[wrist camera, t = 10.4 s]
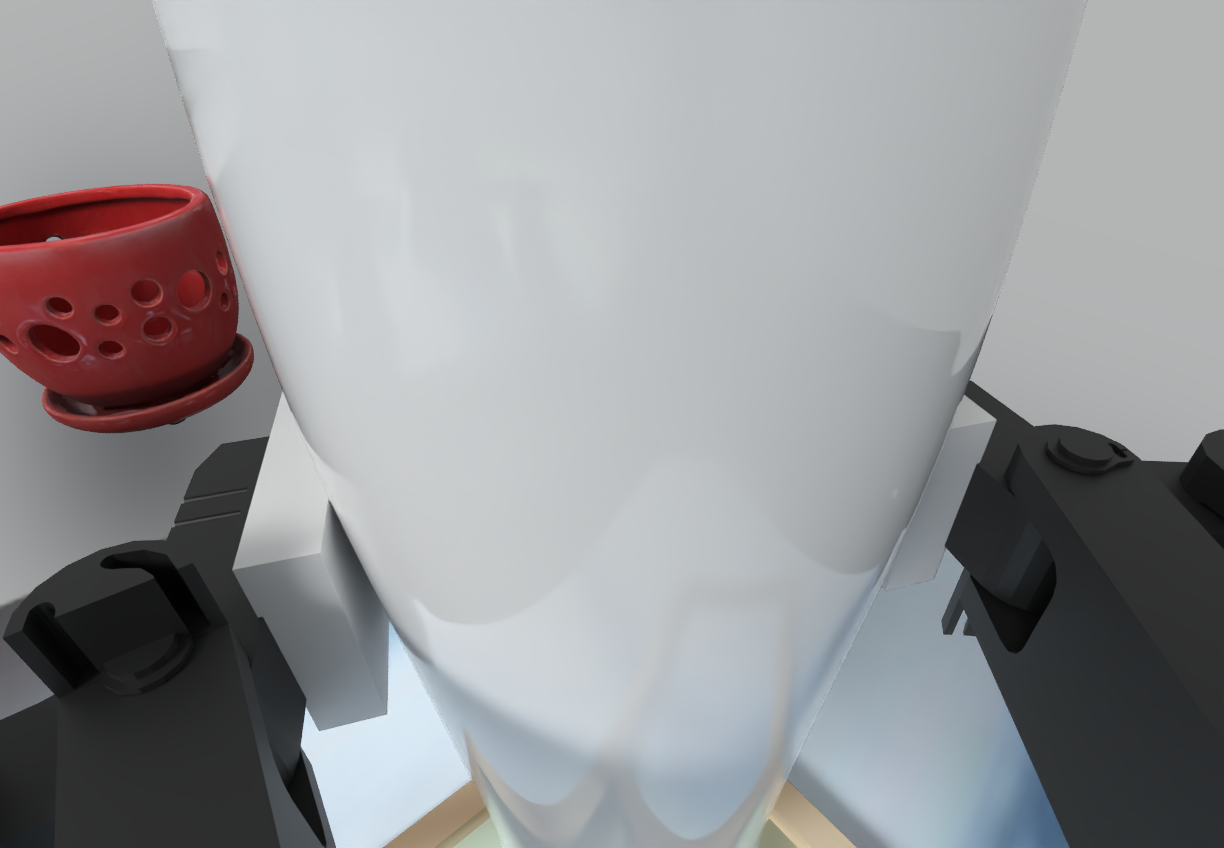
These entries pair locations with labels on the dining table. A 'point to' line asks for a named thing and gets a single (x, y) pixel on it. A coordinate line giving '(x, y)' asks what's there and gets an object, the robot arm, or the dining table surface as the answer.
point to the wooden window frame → (469, 844)
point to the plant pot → (121, 305)
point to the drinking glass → (623, 346)
